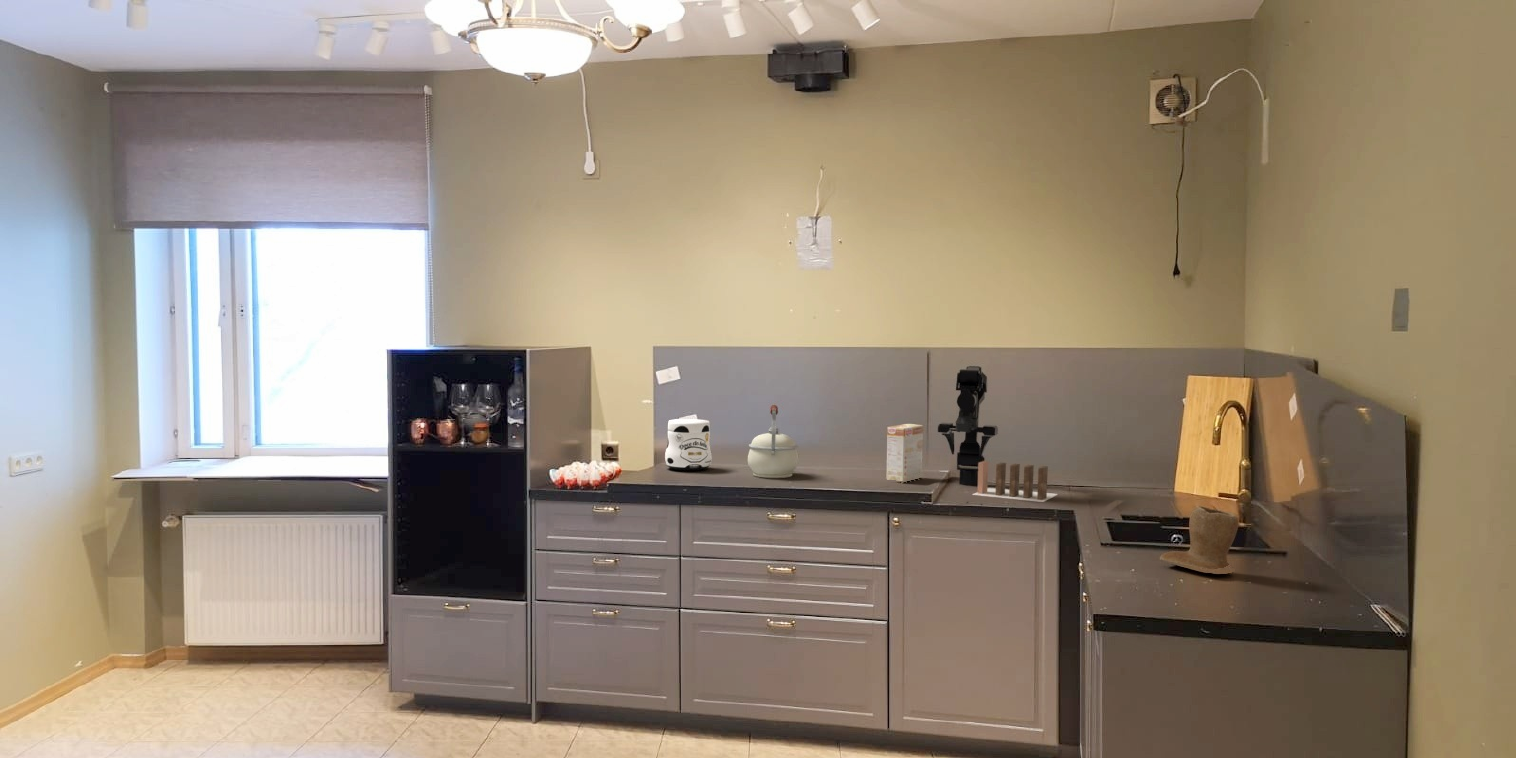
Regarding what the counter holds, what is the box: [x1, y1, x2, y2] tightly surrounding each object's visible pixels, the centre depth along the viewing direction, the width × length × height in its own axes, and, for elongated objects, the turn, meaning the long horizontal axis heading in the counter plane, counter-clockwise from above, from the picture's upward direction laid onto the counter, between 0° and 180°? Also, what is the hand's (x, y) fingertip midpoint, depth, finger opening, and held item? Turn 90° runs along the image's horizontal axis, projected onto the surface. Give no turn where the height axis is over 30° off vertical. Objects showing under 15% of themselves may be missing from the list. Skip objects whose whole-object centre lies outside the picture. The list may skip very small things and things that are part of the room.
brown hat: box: [1159, 505, 1239, 569], centre depth 247 cm, size 15×12×15 cm
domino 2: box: [995, 462, 1007, 496], centre depth 344 cm, size 2×5×10 cm, turn 150°
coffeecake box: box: [886, 423, 924, 481], centre depth 379 cm, size 15×7×20 cm, turn 144°
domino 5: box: [1037, 465, 1049, 500], centre depth 337 cm, size 2×5×10 cm, turn 150°
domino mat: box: [971, 486, 1058, 503], centre depth 345 cm, size 23×18×1 cm
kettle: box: [747, 404, 799, 479], centre depth 385 cm, size 25×18×25 cm
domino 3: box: [1009, 463, 1021, 497], centre depth 342 cm, size 2×5×10 cm, turn 150°
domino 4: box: [1022, 464, 1035, 498], centre depth 340 cm, size 2×5×10 cm, turn 150°
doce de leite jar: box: [664, 418, 713, 471], centre depth 395 cm, size 17×17×18 cm
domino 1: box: [977, 460, 989, 494], centre depth 347 cm, size 2×5×10 cm, turn 150°
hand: (966, 455), depth 350 cm, fingers open, 9 cm apart
